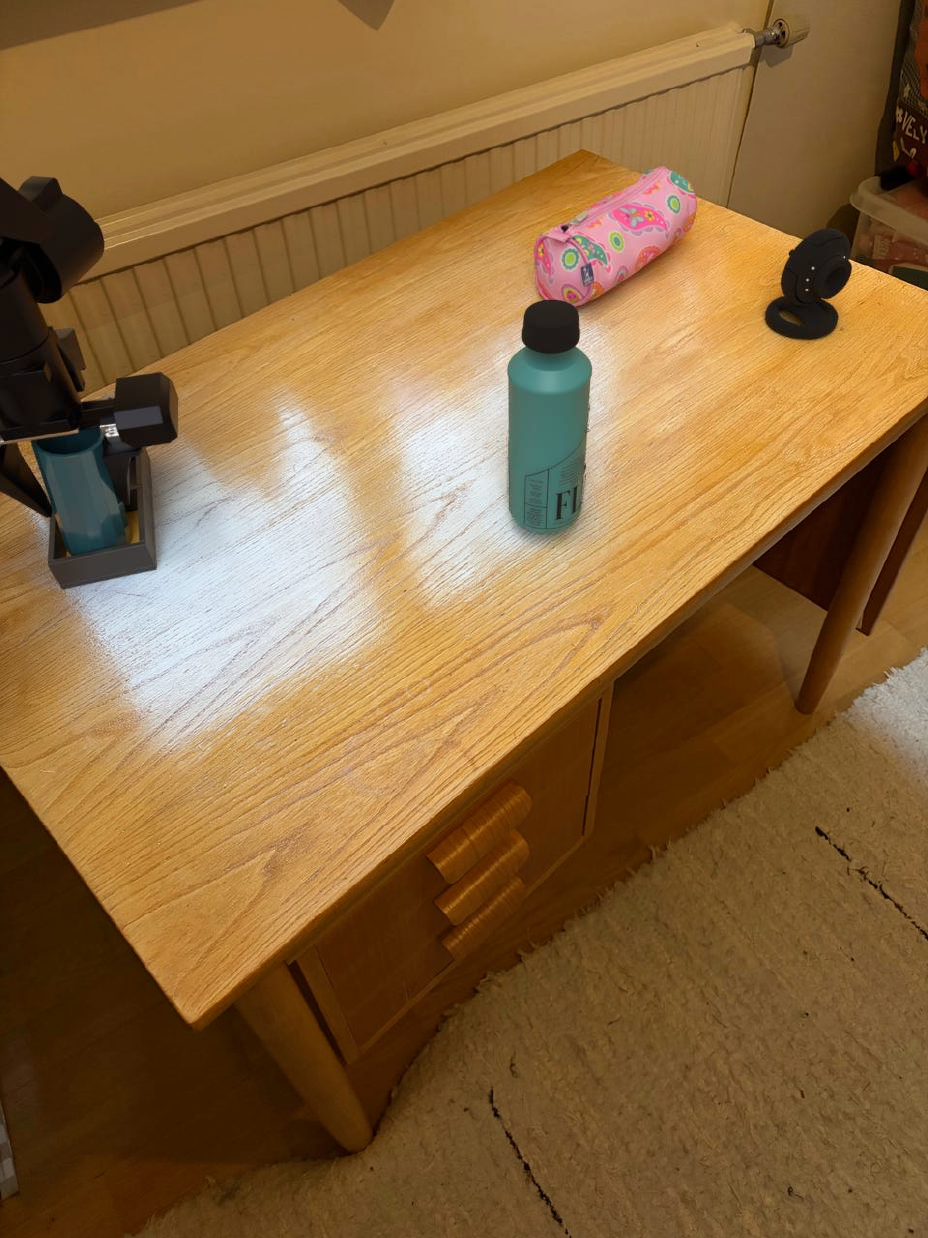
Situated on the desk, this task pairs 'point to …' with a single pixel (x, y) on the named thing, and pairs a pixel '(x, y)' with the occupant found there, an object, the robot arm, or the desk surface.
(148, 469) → the holder
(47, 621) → the desk surface
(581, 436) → the beverage bottle
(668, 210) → the pencil case
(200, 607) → the desk surface
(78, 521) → the cup
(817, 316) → the webcam
